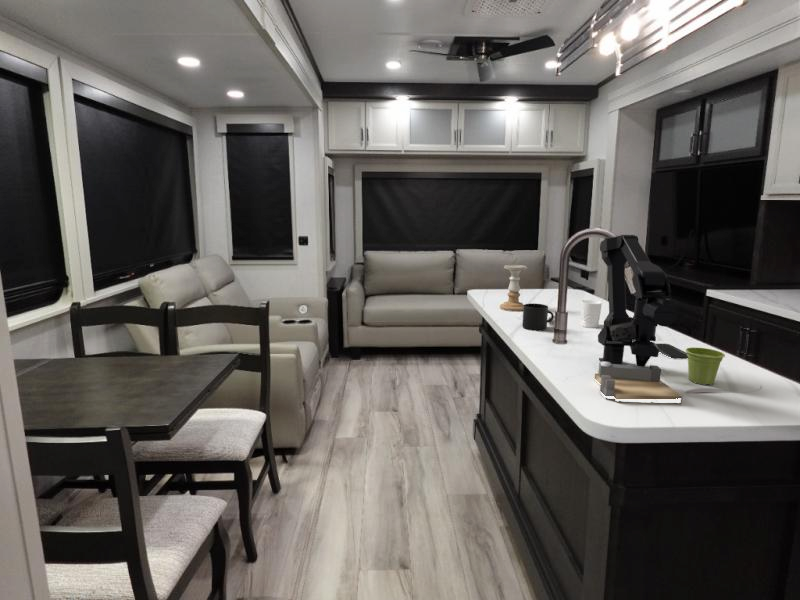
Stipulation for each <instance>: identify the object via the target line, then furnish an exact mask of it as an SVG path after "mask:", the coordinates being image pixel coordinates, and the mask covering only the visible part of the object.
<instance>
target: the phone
mask: <svg viewBox="0 0 800 600" xmlns="http://www.w3.org/2000/svg"><path fill="white" fill-rule="evenodd" d="M655 344H656V345H657V346H658V349H659V352H661V353H662V354H661V353H660V354H661V355H663V354H664V355H666V356H668V357H671V358H688V356H687V352H686V351H684V350H683V349H680V348H678V347H677V346H674V345H672V344H670V343H655ZM664 355H663V356H664ZM666 356H665V357H666ZM668 357H667V358H668ZM671 358H670V359H671Z"/></svg>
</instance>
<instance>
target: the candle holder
mask: <svg viewBox="0 0 800 600" xmlns="http://www.w3.org/2000/svg"><path fill="white" fill-rule="evenodd" d="M503 269H505V270H509V272H510V274H511V275H510V277H509V278H508V279H509V280H510V281H509V285H508V288H507V289H508V293H507V296H508V301H504V302H502V303H501V304H499V305H500V306H499V308H500V309H501V310H503V309H504V310H503V311H507V310H512V311H511V312H521V311H520V310H523V307H524V305H525V304H523V302H520V301H519V298H520V296H521V293H520V291H521V286H520V280H521V278H520V276H519V275H520V273H521V272H522V270H527V269H528V267H527V266H526V265H523V264H521V265H520V264H505V265H504V266H503Z"/></svg>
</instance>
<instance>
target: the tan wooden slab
mask: <svg viewBox="0 0 800 600" xmlns="http://www.w3.org/2000/svg"><path fill="white" fill-rule="evenodd" d="M594 379H596V380H597V381H598V382H599V383H600V384H601V385H599V387H600V388H599V392H600V391H601V392H602V393H603V394H604V395H605V396H614V397H615V398H616V399H676V398H677V399H678V398H682V399H683V395H682V394H680V393H679V392H678V391H676V390H674V389H673V388H672V387H670V386H669V385H667V384H666V383H665V382H663V381H662V380H661V379H660V382H655V381H646V380H634V379H621V378H612V377H610V376H609V375H601V377H600V376H599V374H598V373H594Z"/></svg>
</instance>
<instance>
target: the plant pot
mask: <svg viewBox="0 0 800 600" xmlns="http://www.w3.org/2000/svg"><path fill="white" fill-rule="evenodd" d="M685 352H686V353H687V356H688V359H687V365H688V367H687V368H688V369H687V371H688V381H691V382H692V381H693V382H692V383H694V382H696V383H695V384H698V383H699V385H702V384H706V385H710V384H712V385H714V384H715V381H716V378H717V375H718V371H719V367H720V365H721V362H723V359H724V358H725V357H726V354H725V353H723V352H721V351H719V350H717V349H716V350H715V349H711V348H705V347H694V346H693V347H687V348H686V349H685ZM713 383H714V384H713Z"/></svg>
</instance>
